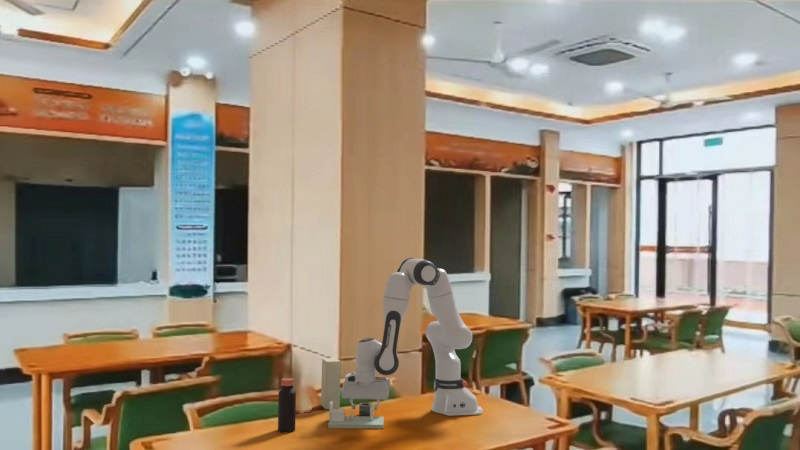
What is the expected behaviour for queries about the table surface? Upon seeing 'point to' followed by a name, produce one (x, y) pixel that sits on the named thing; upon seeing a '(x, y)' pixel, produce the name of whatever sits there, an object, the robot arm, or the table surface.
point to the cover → (336, 414)
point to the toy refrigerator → (330, 382)
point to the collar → (364, 409)
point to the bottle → (287, 406)
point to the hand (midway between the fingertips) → (364, 409)
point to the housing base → (359, 421)
